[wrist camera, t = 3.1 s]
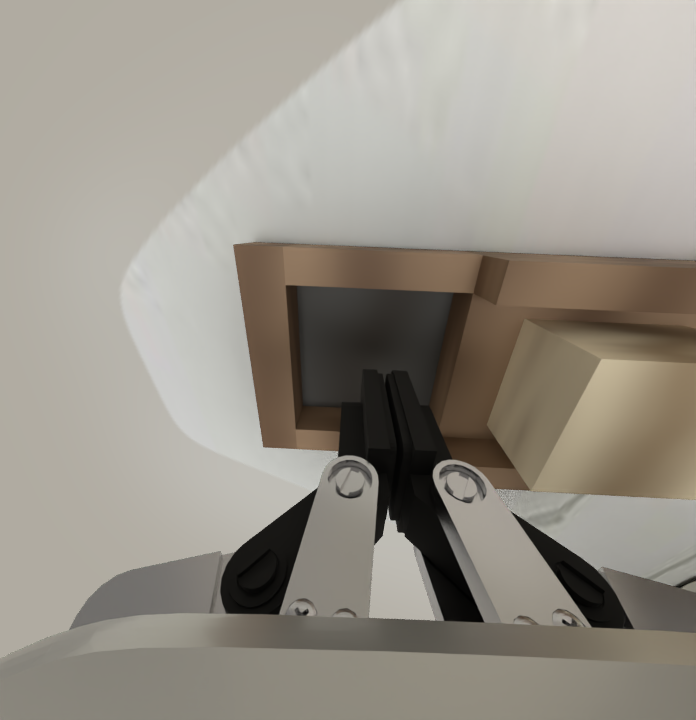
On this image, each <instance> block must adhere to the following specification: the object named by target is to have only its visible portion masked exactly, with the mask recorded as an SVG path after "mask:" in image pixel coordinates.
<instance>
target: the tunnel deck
mask: <svg viewBox="0 0 696 720" xmlns="http://www.w3.org/2000/svg"><path fill="white" fill-rule="evenodd" d="M233 246H234V253H235V259H236V266H237V273H238V280H239V286H240V293H241V300H242V306H243V313H244V320H245V327H246V333H247V340H248V347H249V354H250V360H251V367H252V374H253V380H254V387H255V394H256V401H257V407H258V414H259V421H260V428H261V434H262V441H263V447H269V448H288V449H308V450H327V451H338V450H339V435H340V421H341V406H342V402H360V397H361V383H362V371H363V369H377V371H378V373H382V374H383V378H384V383H385V379H386V374H391V372H392V370H401V371H407V372H408V374H409V377H410V380H411V382H412V385H413V388H414V390H415V393H416V396H417V398H418V401H419V404H420V405H428V406H429V407H430V408H431V410H432V413H433V415H434V417H435V420H436V422H437V424H438V427H439V429H440V431H441V434H442V436H443V438H444V441H445V443H446V445H447V448H448V450H449V452H450V455H451V457H452V459H453V460H458V461H462V462H466V463H468V464H470V465H472V466H474V467H475V468H476V469H478V470H479V471H480V472H482V473H483V474H484V476H485V477H486V478H487V479H488V480H489V482H490V483H491V484H492V486H493V487H494V489H510V490H529V491H530V489H529V488H528V486H527V485H526V483H525V482H524V480H523V479H522V477H521V476H520V474H519V473H518V471H517V470H516V468H515V467H514V465H513V464H512V462H511V461H510V459H509V458H508V456H507V455H506V453H505V452H504V450H503V449H502V447H501V446H500V444H499V443H498V441H497V440H496V438H495V437H494V435H493V434H492V432H491V431H490V429H489V428H488V426H487V423H488V420H489V417H490V414H491V411H492V409H493V406H494V403H495V400H496V397H497V395H498V392H499V389H500V386H501V383H502V381H503V378H504V375H505V372H506V369H507V367H508V364H509V361H510V358H511V355H512V353H513V350H514V347H515V344H516V341H517V339H518V336H519V333H520V330H521V327H522V325H523V322H524V319H542V320H565V321H587V322H609V323H631V324H653V325H675V326H688V327H691V328H695V329H696V261H689V260H665V259H642V258H618V257H594V256H570V255H547V254H523V253H499V252H476V251H452V250H428V249H404V248H381V247H357V246H333V245H309V244H286V243H262V242H253V243H244V244H235V245H233Z"/></svg>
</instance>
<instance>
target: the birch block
mask: <svg viewBox="0 0 696 720" xmlns="http://www.w3.org/2000/svg"><path fill="white" fill-rule="evenodd" d="M487 426H488V428H489V429H490V431H491V432H492V434H493V435H494V437H495V438H496V440H497V441H498V443H499V444H500V446H501V447H502V449H503V450H504V452H505V453H506V455H507V456H508V458H509V459H510V461H511V462H512V464H513V465H514V467H515V468H516V470H517V471H518V473H519V474H520V476H521V477H522V479H523V480H524V482H525V483H526V485H527V486H528V488H529V489H530V491H536V492H555V493H574V494H593V495H612V496H631V497H650V498H669V499H688V500H696V329H695V328H691V327H688V326H675V325H653V324H631V323H609V322H587V321H565V320H542V319H524V322H523V325H522V327H521V330H520V333H519V336H518V339H517V341H516V344H515V347H514V350H513V353H512V355H511V358H510V361H509V364H508V367H507V369H506V372H505V375H504V378H503V381H502V383H501V386H500V389H499V392H498V395H497V397H496V400H495V403H494V406H493V409H492V411H491V414H490V417H489V420H488V423H487Z"/></svg>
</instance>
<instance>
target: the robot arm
mask: <svg viewBox="0 0 696 720" xmlns="http://www.w3.org/2000/svg"><path fill="white" fill-rule="evenodd" d="M388 508H389V516H390V520H396V524H397V531H398V532H402V533H405V537H406V538H407V539H408V540H409V541H410V542H411V543H412V544H413V545H414V552H415V557H416V560H417V563H418V566H419V569H420V573H421V575H422V579H423V582H424V585H425V588H426V591H427V595H428V598H429V601H430V604H431V607H432V610H433V613H434V616H435V620H436V621H430V620H405V619H379V618H378V619H377V618H369V607H370V594H371V580H372V566H373V553H374V545H375V544H376V543H377V542H378V540H379V539H380V538H381V537H382V536H383V530H384V524H385V520H386V515H387V509H388ZM0 720H696V580H695V581H693V582H691V583H689V584H686V585H685V586H683V587H681V588H677V587H674V586H670V585H666V584H663V583H659V582H655V581H652V580H648V579H644V578H641V577H637V576H633V575H630V574H626V573H622V572H619V571H615V570H612V569H608V568H604V567H601V568H600V569H599V570H598V571H597V570H596V569H595V568H594V567H592V566H591V565H590V564H588V563H587V562H586V561H585V560H583V559H582V558H580V557H579V556H577V555H576V554H574V553H573V552H571V551H570V550H568V549H567V548H565V547H564V546H562V545H561V544H559V543H558V542H556V541H555V540H553V539H552V538H550V537H549V536H547V535H546V534H544V533H543V532H541V531H540V530H538V529H537V528H535V527H534V526H532V525H531V524H529V523H528V522H526V521H525V520H523V519H521V518H520V517H518V516H517V515H515V514H514V513H512V512H511V511H510V510H509V509H508V507H507V506H506V504H505V503H504V502H503V500H502V499H501V497H500V496H499V494H498V493H497V492H496V490H495V489H494V487H493V486H492V484H491V483H490V482H489V480H488V479H487V478H486V477H485V476H484V474H483V473H482V472H480V471H479V470H478V469H476V468H475V467H474V466H472V465H470V464H468V463H466V462H462V461H458V460H453V459H452V457H451V455H450V452H449V450H448V448H447V445H446V443H445V441H444V438H443V436H442V434H441V431H440V429H439V427H438V424H437V422H436V420H435V417H434V415H433V413H432V410H431V408H430V407H429V406H428V405H420V404H419V401H418V398H417V396H416V393H415V390H414V388H413V385H412V382H411V380H410V377H409V374H408V372H407V371H401V370H392V372H391V374H386V379H385V383H384V378H383V374H382V373H378V371H377V369H363V371H362V383H361V397H360V402H342V406H341V421H340V435H339V450H338V458H336V459H334V460H332V461H331V462H330V463H329V464H328V465H327V466H326V467H325V469H324V471H323V473H322V476H321V479H320V483H319V486H318V488H317V489H315V490H314V491H313V492H312V493H310V494H309V495H308V496H307V497H305V498H304V499H302V500H301V501H300V502H298V503H297V504H296V505H294V506H293V507H292V508H291V509H289V510H288V511H287V512H285V513H284V514H283V515H281V516H280V517H279V518H277V519H276V520H275V521H273V522H272V523H271V524H270V525H268V526H267V527H266V528H264V529H263V530H262V531H261V532H259V533H258V534H256V535H255V536H254V537H252V538H251V539H250V540H249V541H247V542H246V543H245V544H243V545H242V546H241V547H240V548H239V549H238V550H237V551H236V552H234V553H230V554H225V555H222V553H221V551H218V552H214V553H209V554H204V555H200V556H195V557H190V558H185V559H181V560H176V561H171V562H167V563H162V564H157V565H152V566H148V567H143V568H139V569H133V570H130V571H127V572H124V573H122V574H119V575H116V576H115V577H113V578H112V579H111V580H109V581H108V582H106V583H105V584H103V585H102V586H101V587H100V588H99V589H98V590H97V591H96V592H95V593H94V594H93V595H92V596H90V597H89V598H88V600H87V601H86V603H85V604H84V606H83V607H82V608H81V610H80V611H79V613H78V614H77V616H76V618H75V620H74V622H73V623H72V625H71V627H70V629H69V630H68V631H65V632H62V633H59V634H56V635H53V636H50V637H47V638H45V639H42V640H40V641H38V642H36V643H33V644H31V645H29V646H26V647H24V648H22V649H19V650H17V651H15V652H13V653H10V654H8V655H7V656H5V657H3V658H1V659H0Z"/></svg>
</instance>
